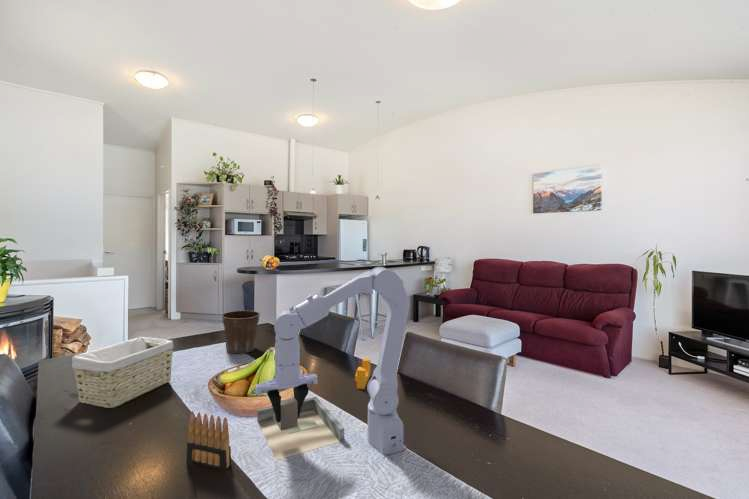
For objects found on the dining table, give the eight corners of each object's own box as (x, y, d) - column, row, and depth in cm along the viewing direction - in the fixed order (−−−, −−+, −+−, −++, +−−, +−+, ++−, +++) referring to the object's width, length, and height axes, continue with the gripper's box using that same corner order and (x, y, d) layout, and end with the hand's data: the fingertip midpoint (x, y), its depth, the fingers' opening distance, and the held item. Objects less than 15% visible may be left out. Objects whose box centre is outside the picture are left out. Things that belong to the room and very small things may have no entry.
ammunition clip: (231, 468, 82) (231, 415, 81) (226, 474, 80) (226, 419, 80) (192, 459, 85) (192, 408, 84) (186, 464, 83) (185, 412, 83)
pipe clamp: (358, 375, 138) (358, 358, 137) (369, 376, 137) (370, 359, 137) (351, 388, 126) (351, 369, 126) (364, 389, 125) (364, 370, 125)
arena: (344, 443, 92) (344, 428, 92) (276, 463, 84) (276, 446, 84) (315, 410, 110) (316, 396, 110) (257, 423, 101) (257, 409, 101)
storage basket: (108, 412, 106) (108, 362, 106) (69, 404, 111) (68, 355, 111) (176, 381, 129) (176, 340, 129) (141, 375, 134) (140, 335, 134)
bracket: (297, 426, 88) (297, 401, 88) (280, 430, 86) (280, 405, 86) (289, 414, 94) (289, 391, 94) (273, 418, 92) (273, 394, 92)
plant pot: (267, 348, 168) (268, 313, 167) (237, 358, 154) (237, 320, 153) (244, 342, 176) (244, 308, 176) (213, 351, 163) (213, 314, 162)
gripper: (310, 352, 95) (310, 404, 95) (252, 361, 88) (252, 417, 88) (320, 361, 89) (320, 416, 89) (259, 371, 82) (259, 431, 82)
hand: (287, 418), depth 88 cm, fingers closed on bracket, 4 cm apart
